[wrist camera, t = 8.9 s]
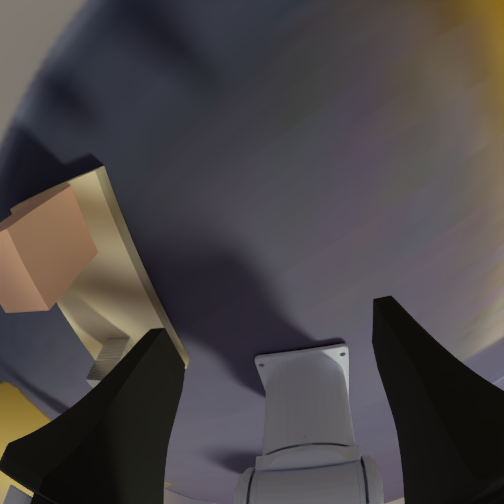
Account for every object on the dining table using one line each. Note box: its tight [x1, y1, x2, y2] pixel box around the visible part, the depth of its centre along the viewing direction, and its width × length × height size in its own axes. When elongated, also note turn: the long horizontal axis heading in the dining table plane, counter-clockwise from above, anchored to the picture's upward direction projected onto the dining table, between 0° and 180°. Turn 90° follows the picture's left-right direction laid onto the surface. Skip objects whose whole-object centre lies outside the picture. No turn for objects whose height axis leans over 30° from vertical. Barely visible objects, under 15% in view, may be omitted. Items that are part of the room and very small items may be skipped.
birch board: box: [10, 166, 190, 368], centre depth 22 cm, size 18×10×1 cm, turn 13°
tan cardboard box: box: [0, 186, 98, 313], centre depth 16 cm, size 5×5×7 cm
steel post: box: [86, 337, 135, 388], centre depth 23 cm, size 3×3×5 cm
